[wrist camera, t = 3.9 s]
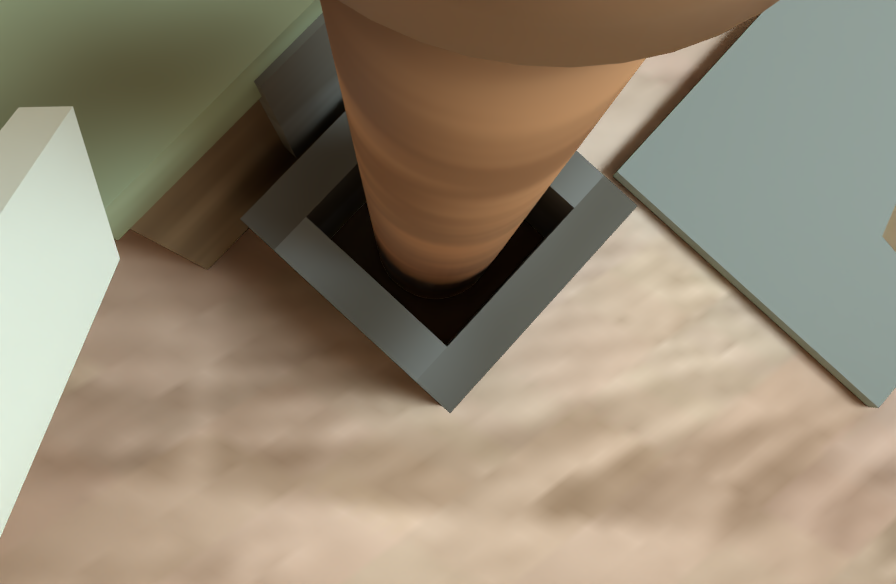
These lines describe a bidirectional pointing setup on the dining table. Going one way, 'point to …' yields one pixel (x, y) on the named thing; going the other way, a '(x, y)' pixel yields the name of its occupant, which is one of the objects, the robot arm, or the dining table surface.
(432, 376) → the toolbox
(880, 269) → the rubber mat
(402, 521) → the dining table surface
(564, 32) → the wooden pepper mill
